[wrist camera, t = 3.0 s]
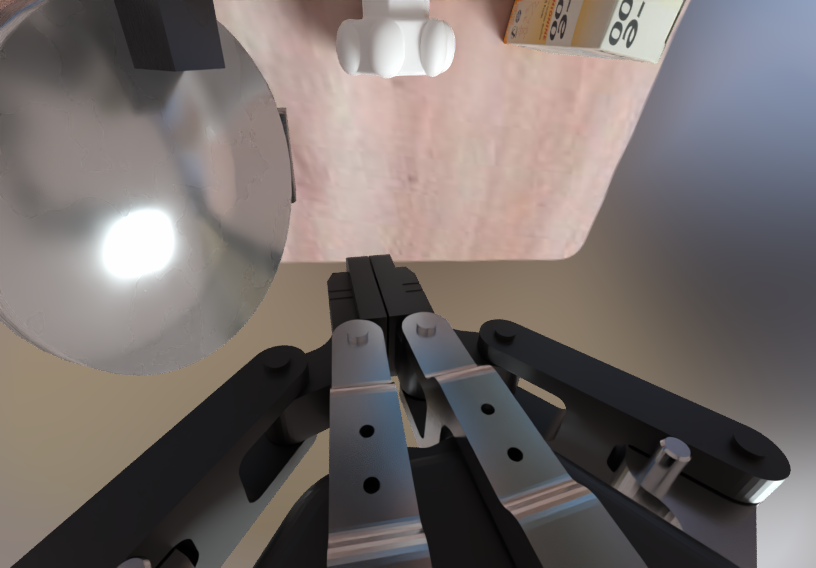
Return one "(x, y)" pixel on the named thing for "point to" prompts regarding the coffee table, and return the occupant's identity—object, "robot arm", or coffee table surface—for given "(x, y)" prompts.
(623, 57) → the supplement box
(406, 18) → the white bone
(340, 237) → the coffee table surface
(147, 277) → the cooker lid
